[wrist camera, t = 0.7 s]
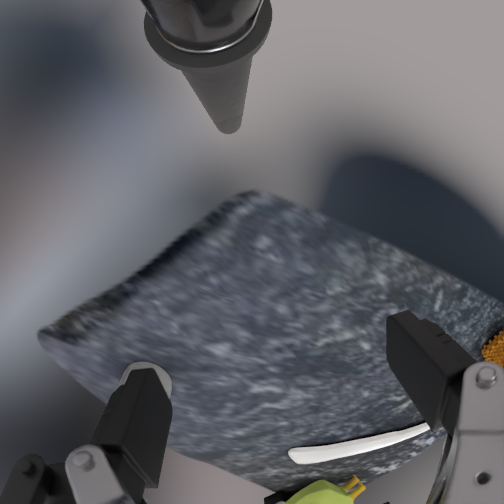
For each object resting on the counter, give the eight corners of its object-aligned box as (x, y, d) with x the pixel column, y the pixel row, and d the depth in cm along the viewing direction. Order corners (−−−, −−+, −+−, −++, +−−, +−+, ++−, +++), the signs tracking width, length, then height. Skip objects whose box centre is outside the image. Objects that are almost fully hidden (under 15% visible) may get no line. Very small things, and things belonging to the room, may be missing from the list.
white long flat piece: (447, 410, 39) (453, 420, 37) (438, 423, 41) (443, 433, 38) (287, 445, 38) (289, 458, 36) (286, 456, 40) (288, 469, 38)
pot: (115, 365, 32) (95, 407, 25) (159, 357, 32) (144, 402, 25) (138, 400, 34) (124, 443, 27) (180, 394, 34) (172, 439, 27)
